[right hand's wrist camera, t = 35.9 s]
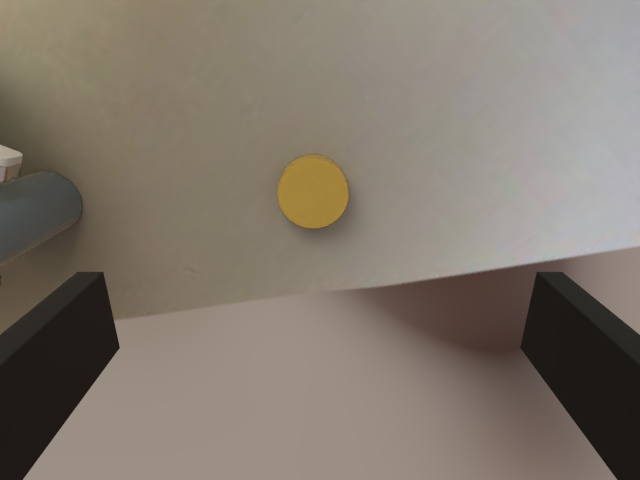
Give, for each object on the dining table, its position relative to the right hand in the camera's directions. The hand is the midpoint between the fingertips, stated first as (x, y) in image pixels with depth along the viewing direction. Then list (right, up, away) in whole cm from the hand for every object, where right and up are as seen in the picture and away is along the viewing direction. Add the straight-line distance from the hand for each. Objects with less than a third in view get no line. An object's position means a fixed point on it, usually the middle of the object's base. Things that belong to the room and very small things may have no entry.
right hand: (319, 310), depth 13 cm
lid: (0, +5, +16) cm, 17 cm away
